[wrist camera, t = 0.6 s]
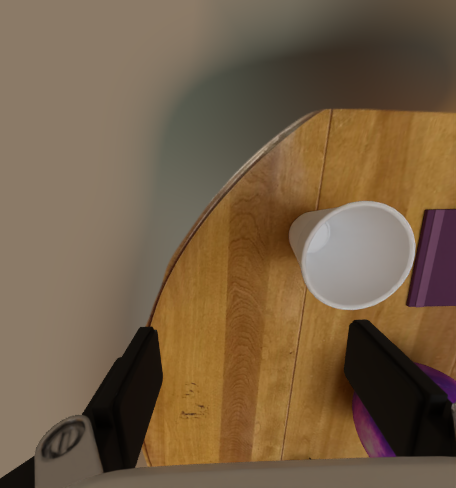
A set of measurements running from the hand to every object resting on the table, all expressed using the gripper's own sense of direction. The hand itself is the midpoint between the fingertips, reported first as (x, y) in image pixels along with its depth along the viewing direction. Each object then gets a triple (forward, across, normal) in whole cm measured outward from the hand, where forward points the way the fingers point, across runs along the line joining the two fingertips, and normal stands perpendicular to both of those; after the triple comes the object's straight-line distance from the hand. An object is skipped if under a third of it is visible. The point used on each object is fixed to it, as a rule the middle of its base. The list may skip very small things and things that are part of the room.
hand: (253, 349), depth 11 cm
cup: (+20, -10, -1) cm, 23 cm away
